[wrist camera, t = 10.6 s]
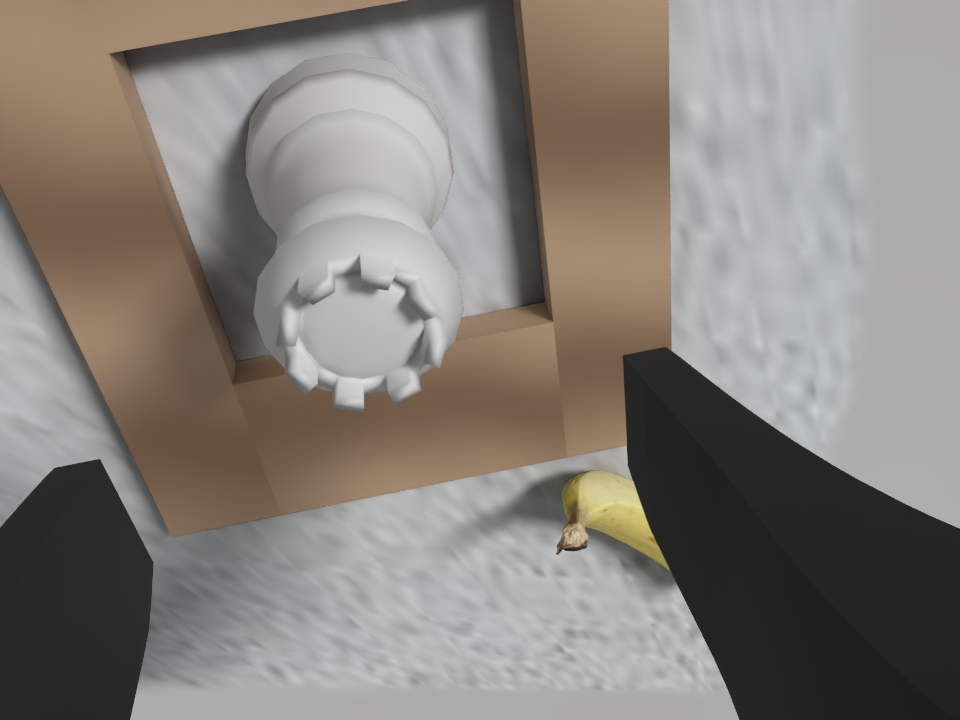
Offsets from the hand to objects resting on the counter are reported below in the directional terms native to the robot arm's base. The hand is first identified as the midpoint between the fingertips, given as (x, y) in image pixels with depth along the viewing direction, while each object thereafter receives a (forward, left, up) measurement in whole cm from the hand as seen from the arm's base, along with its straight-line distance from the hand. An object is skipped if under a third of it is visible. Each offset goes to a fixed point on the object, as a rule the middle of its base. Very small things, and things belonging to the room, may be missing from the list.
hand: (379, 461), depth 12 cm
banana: (-12, -6, -10) cm, 16 cm away
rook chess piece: (+1, 0, -10) cm, 10 cm away
